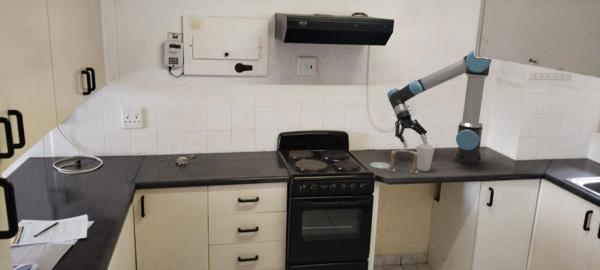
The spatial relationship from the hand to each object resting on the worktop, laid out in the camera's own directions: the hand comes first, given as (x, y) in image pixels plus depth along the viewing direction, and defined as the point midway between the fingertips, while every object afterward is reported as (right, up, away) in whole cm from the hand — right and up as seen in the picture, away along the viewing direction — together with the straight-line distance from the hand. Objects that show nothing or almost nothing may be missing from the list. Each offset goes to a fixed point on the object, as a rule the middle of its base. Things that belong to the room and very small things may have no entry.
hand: (416, 146), depth 267 cm
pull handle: (-9, -13, -6) cm, 17 cm away
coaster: (-20, -11, 0) cm, 23 cm away
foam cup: (+3, -13, -2) cm, 13 cm away
